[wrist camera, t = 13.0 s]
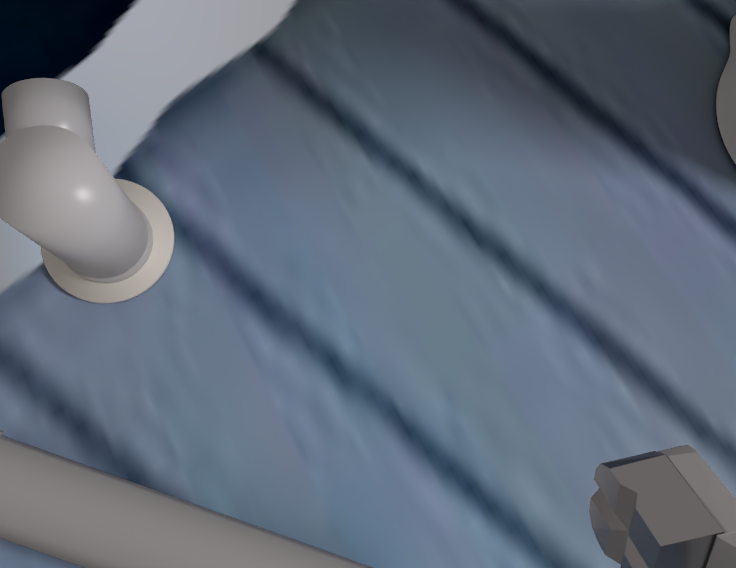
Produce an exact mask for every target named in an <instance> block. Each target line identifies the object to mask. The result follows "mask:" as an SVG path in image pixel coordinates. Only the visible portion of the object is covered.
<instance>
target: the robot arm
mask: <svg viewBox="0 0 736 568" xmlns="http://www.w3.org/2000/svg"><path fill="white" fill-rule="evenodd" d="M716 112H717V120H718V125H719V130H720V133H721V136H722V139H723V142H724V144H725V146H726V148H727V150H728V152H729V154H730V156H731V158H732V159H733V161H734V163H735V164H736V15H735V16H734V17H733V18H732V20H731V23H730V55H729V59H728V62H727V64H726V66H725V68H724V71H723V73H722V75H721V78H720V81H719V85H718V90H717V98H716ZM594 480H595V481H596V483H597V485H598V486H599V489H598V490H597V492H596V493H595V494H594V495H593V496H592V497H591V502H590V510H589V512H590V517H591V523H592V528H593V530H594V533H595V536H596V538H597V541H598V543H599V544H600V546H601V548H602V550H603V552H604V554H605V555H606V556H608V557H610V558H611V559H613V560H614V561H616V562H617V563H619V564H621V568H736V499H735V498H734V496H733V495H732V494H731V493H730V491H729V490H728V489H727V488H726V487H725V485H724V484H723V483H722V482H721V480H720V479H719V478H718V477H717V476H716V474H715V473H714V472H713V471H712V469H711V468H710V467H709V466H708V465H707V463H706V462H705V461H704V460H703V459H702V457H701V456H700V455H699V454H698V452H697V451H696V450H695V449H694V448H692V447H690V446H689V445H684V446H679V447H674V448H670V449H666V450H662V451H658V452H656V451H653V452H648V453H644V454H640V455H636V456H631V457H627V458H623V459H618V460H614V461H610V462H606V463H601V464H600V465H599V466H598V467H597V468H596V473H595V478H594Z"/></svg>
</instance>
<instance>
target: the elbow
mask: <svg viewBox="0 0 736 568" xmlns="http://www.w3.org/2000/svg"><path fill="white" fill-rule="evenodd" d="M2 104H3V114H4V124H5V133H6V139H5V140H3V141H2V142H1V143H0V218H1V219H2V220H4V221H5V222H6V223H8V224H10V225H11V226H13V227H14V228H15V229H17V230H18V231H19V232H21V233H23V234H24V235H25V236H27V237H28V238H30V239H31V240H33V241H34V242H35V243H37V244H38V245H40V246H41V247H43V248H44V249H46V250H47V251H48V252H50V253H51V254H53V255H54V256H56V257H57V258H59V259H60V260H62V261H63V262H64V263H65V264H66V265H67V266H68V267H69V268H70V269H71V270H72V271H73V272H75V273H76V274H77V275H79V276H80V277H82V278H84V279H86V280H88V281H91V282H95V283H101V284H109V283H116V282H120V281H123V280H125V279H127V278H129V277H131V276H132V275H134V274H135V273H137V272H138V271H139V270H140V269H141V268H142V267H143V266H144V264H145V263H146V261H147V260H148V258H149V256H150V253H151V251H152V246H153V231H152V227H151V224H150V222H149V220H148V218H147V217H146V216H145V214H144V213H143V211H142V210H141V209H140V208H139V207H138V206H137V205H136V204H135V203H133V202H132V201H131V200H130V198H129V197H128V196H127V194H126V193H125V192H124V190H123V189H122V188H121V187H120V185H119V184H118V183H117V181H116V180H115V179H114V177H113V176H112V175H111V173H110V172H109V171H108V169H107V168H106V167H105V165H104V164H103V163H102V162H101V160H100V159H99V158H98V156H97V155H96V152H95V144H94V136H93V129H92V121H91V113H90V105H89V98H88V95H87V93H86V92H85V90H84V89H82V88H81V87H79V86H78V85H76V84H73V83H71V82H68V81H64V80H59V79H52V78H34V79H26V80H22V81H18V82H15V83H13V84H11V85H9V86H8V87H7V88H5V90H4V91H3V93H2Z"/></svg>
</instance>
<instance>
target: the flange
mask: <svg viewBox="0 0 736 568" xmlns="http://www.w3.org/2000/svg"><path fill="white" fill-rule="evenodd" d="M115 180H116V181H117V183H118V184H119V185H120V187H121V188H122V189H123V190H124V192H125V193H126V194H127V196H128V197H129V198H130V200H131V201H132V202H133V203H135V204H136V205H137V206H138V207H139V208H140V209H141V210H142V211H143V213H144V214H145V216H146V217H147V218H148V220H149V222H150V224H151V227H152V231H153V246H152V251H151V253H150V256H149V258H148V260H147V261H146V263H145V264H144V266H143V267H142V268H141V269H140V270H139V271H138V272H137V273H135V274H134V275H132V276H131V277H129V278H127V279H125V280H123V281H120V282H116V283H109V284H101V283H95V282H91V281H88V280H86V279H84V278H82V277H80V276H79V275H77V274H76V273H75V272H73V271H72V270H71V269H70V268H69V267H68V266H67V265H66V264H65V263H64V262H63V261H62V260H60V259H59V258H57V257H56V256H54V255H53V254H51V253H50V252H48V251H47V250H46V249H44V248H43V247H41V252H42V257H43V261H44V264H45V266H46V269H47V271H48V272H49V274H50V276H51V277H52V278H53V280H54V281H55V282H56V283H57V284H58V285H59V286H60V287H61V288H62V289H64V290H65V291H66V292H68V293H69V294H71V295H73V296H75V297H77V298H79V299H82V300H85V301H88V302H93V303H101V304H108V303H117V302H122V301H126V300H129V299H132V298H134V297H136V296H138V295H140V294H142V293H143V292H145V291H146V290H148V289H149V288H150V287H152V286H153V285H154V284H155V283H156V282H157V281H158V280H159V278H160V277H161V276H162V275H163V273H164V272H165V270H166V268H167V267H168V265H169V262H170V260H171V257H172V254H173V249H174V229H173V225H172V221H171V218H170V216H169V214H168V212H167V210H166V208H165V207H164V205H163V204H162V203H161V201H160V200H159V199H158V198H157V197H156V196H155V195H154V194H153V193H152V192H150V191H149V190H147V189H146V188H144V187H142V186H140V185H138V184H136V183H133V182H131V181H126V180H122V179H115Z"/></svg>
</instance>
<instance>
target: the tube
mask: <svg viewBox="0 0 736 568" xmlns="http://www.w3.org/2000/svg"><path fill="white" fill-rule="evenodd" d="M0 538H2V539H4V540H7V541H10V542H13V543H16V544H19V545H22V546H24V547H27V548H30V549H33V550H36V551H39V552H41V553H44V554H47V555H50V556H53V557H56V558H58V559H61V560H64V561H67V562H70V563H73V564H75V565H78V566H81V567H84V568H372V567H369V566H367V565H364V564H361V563H358V562H355V561H353V560H350V559H347V558H344V557H341V556H338V555H336V554H333V553H330V552H327V551H324V550H322V549H319V548H316V547H313V546H310V545H308V544H305V543H302V542H299V541H296V540H294V539H291V538H288V537H285V536H282V535H280V534H277V533H274V532H271V531H268V530H266V529H263V528H260V527H257V526H254V525H252V524H249V523H246V522H243V521H240V520H238V519H235V518H232V517H229V516H226V515H224V514H221V513H218V512H215V511H212V510H210V509H207V508H204V507H201V506H198V505H196V504H193V503H190V502H187V501H184V500H181V499H179V498H176V497H173V496H170V495H167V494H165V493H162V492H159V491H156V490H153V489H151V488H148V487H145V486H142V485H139V484H137V483H134V482H131V481H128V480H125V479H123V478H120V477H117V476H114V475H111V474H109V473H106V472H103V471H100V470H97V469H95V468H92V467H89V466H86V465H83V464H81V463H78V462H75V461H72V460H69V459H67V458H64V457H61V456H58V455H55V454H53V453H50V452H47V451H44V450H41V449H38V448H36V447H33V446H30V445H27V444H24V443H22V442H19V441H16V440H13V439H10V438H8V437H6V436H4V435H3V431H1V430H0Z"/></svg>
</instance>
